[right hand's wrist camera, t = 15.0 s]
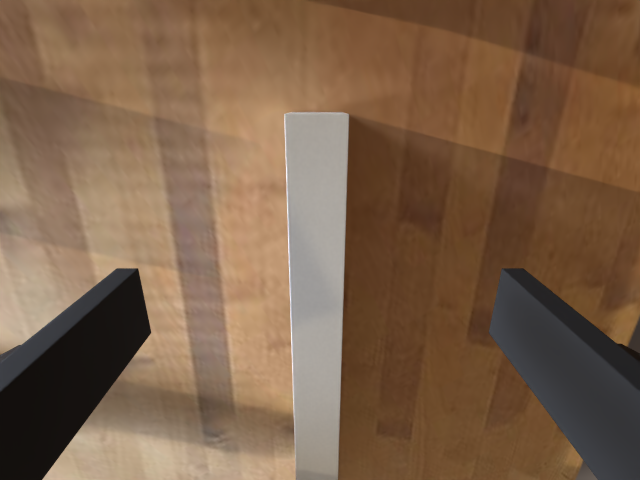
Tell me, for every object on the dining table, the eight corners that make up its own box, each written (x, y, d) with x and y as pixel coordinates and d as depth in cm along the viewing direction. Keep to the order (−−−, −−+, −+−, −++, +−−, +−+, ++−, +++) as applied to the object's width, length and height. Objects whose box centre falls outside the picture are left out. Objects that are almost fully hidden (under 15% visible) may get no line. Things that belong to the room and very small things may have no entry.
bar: (291, 112, 34) (284, 113, 27) (343, 112, 34) (349, 114, 27) (300, 479, 53) (297, 538, 46) (333, 479, 53) (336, 538, 46)
